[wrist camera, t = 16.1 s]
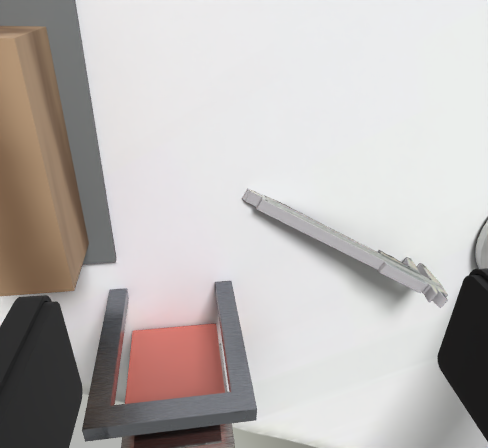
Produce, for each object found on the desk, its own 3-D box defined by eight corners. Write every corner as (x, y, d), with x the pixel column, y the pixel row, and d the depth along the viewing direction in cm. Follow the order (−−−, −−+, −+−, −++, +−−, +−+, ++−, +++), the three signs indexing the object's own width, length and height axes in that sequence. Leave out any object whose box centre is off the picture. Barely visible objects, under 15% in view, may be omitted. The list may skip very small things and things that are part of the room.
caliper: (422, 262, 41) (460, 303, 36) (415, 270, 42) (451, 312, 36) (247, 186, 34) (261, 224, 29) (240, 197, 34) (253, 236, 29)
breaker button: (216, 323, 40) (226, 403, 33) (216, 341, 42) (226, 422, 34) (132, 330, 39) (123, 415, 32) (135, 349, 41) (127, 435, 33)
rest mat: (73, -10, 25) (71, -10, 25) (116, 258, 35) (115, 262, 35) (-89, -14, 24) (-95, -14, 23) (4, 265, 34) (1, 269, 33)
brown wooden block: (45, 26, 25) (14, 38, 20) (89, 243, 33) (74, 290, 28) (-43, 25, 25) (-99, 36, 19) (23, 247, 33) (-4, 296, 28)
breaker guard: (231, 280, 38) (256, 408, 27) (230, 362, 44) (250, 497, 33) (109, 289, 37) (82, 430, 25) (124, 373, 42) (107, 518, 31)
